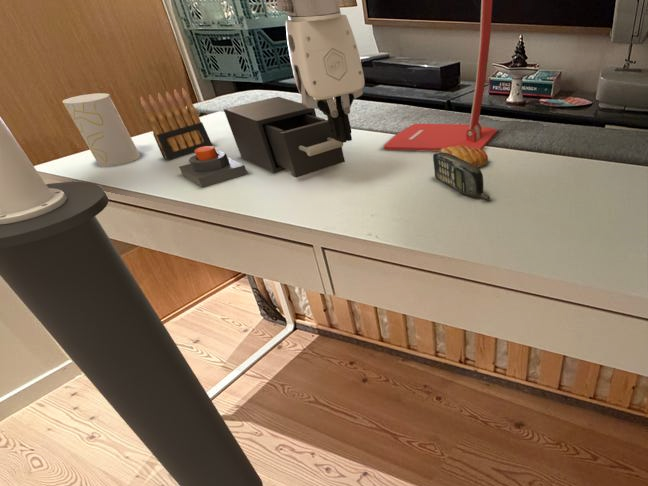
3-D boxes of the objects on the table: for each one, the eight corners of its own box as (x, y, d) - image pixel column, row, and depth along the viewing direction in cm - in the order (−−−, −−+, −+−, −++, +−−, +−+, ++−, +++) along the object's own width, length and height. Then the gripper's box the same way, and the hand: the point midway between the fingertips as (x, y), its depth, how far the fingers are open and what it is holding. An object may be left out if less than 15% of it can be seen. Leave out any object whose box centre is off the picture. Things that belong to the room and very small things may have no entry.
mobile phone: (429, 152, 83) (477, 173, 73) (443, 148, 84) (492, 168, 74) (432, 180, 86) (479, 203, 76) (446, 176, 87) (493, 198, 78)
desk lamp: (373, 123, 115) (333, -103, 88) (523, 131, 106) (530, -119, 79) (336, 146, 102) (277, -110, 75) (502, 158, 93) (502, -129, 66)
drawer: (357, 166, 90) (348, 123, 84) (308, 183, 84) (295, 138, 79) (310, 148, 99) (299, 108, 94) (262, 162, 93) (248, 120, 88)
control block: (202, 187, 87) (194, 168, 84) (182, 175, 92) (174, 157, 90) (247, 173, 91) (241, 155, 89) (226, 162, 97) (219, 145, 94)
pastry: (480, 157, 94) (479, 137, 91) (493, 167, 89) (493, 147, 87) (437, 164, 91) (435, 144, 89) (448, 176, 87) (447, 155, 84)
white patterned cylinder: (89, 164, 99) (52, 102, 91) (120, 152, 105) (88, 92, 97) (118, 167, 97) (83, 104, 89) (148, 154, 103) (118, 93, 95)
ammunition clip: (208, 144, 106) (184, 86, 98) (212, 146, 106) (188, 86, 98) (163, 158, 100) (133, 97, 92) (168, 160, 99) (138, 98, 91)
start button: (202, 162, 88) (198, 153, 87) (195, 158, 90) (191, 149, 88) (221, 157, 90) (217, 148, 88) (213, 153, 92) (209, 144, 90)
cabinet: (326, 157, 97) (314, 106, 91) (274, 173, 91) (256, 120, 84) (292, 143, 105) (278, 96, 99) (241, 158, 99) (223, 108, 92)
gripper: (277, 13, 61) (316, 156, 73) (370, 1, 68) (391, 133, 81) (252, 10, 65) (293, 147, 77) (341, 0, 72) (366, 126, 85)
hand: (343, 139), depth 79 cm, fingers closed
